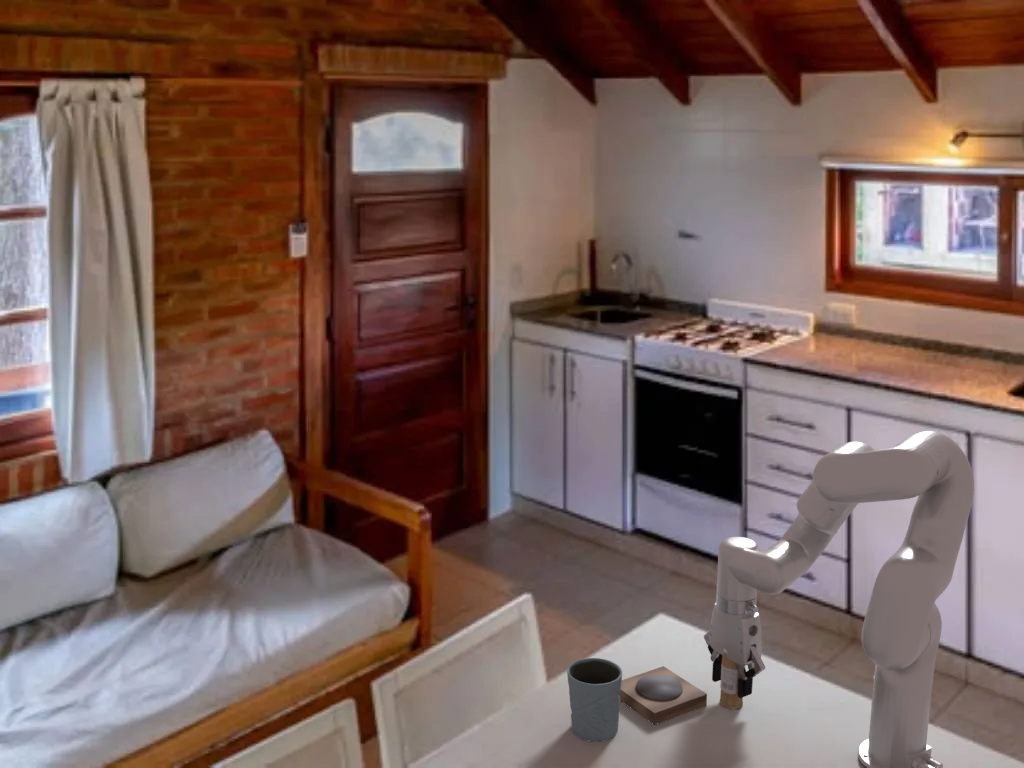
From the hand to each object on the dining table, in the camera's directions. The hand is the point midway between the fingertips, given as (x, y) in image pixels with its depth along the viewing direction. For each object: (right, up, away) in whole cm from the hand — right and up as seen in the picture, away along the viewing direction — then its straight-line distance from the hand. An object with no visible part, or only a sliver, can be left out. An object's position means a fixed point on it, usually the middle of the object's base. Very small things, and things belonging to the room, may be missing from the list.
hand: (731, 686), depth 210 cm
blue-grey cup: (-27, -6, -8) cm, 29 cm away
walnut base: (-14, -3, +2) cm, 14 cm away
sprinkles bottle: (0, -4, +1) cm, 4 cm away
